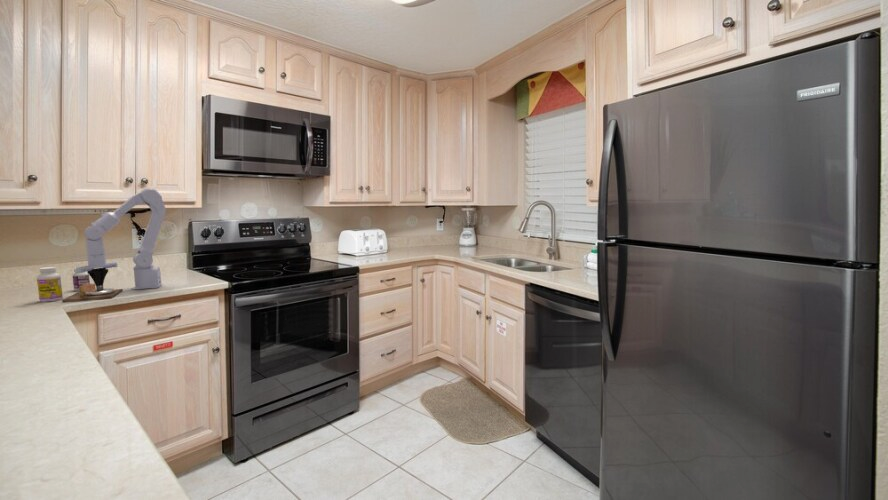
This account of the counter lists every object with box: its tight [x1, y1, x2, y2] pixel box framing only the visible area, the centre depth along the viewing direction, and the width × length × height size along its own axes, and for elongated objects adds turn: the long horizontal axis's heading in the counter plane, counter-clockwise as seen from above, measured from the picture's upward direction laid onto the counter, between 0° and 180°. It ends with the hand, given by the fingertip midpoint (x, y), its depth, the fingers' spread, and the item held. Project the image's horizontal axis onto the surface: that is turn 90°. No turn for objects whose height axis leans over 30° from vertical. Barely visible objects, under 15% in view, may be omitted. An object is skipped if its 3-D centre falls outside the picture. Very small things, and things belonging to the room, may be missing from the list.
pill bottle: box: [72, 267, 91, 292], centre depth 178 cm, size 5×5×10 cm
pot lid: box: [83, 283, 115, 296], centre depth 167 cm, size 12×9×3 cm
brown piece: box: [61, 286, 124, 303], centre depth 166 cm, size 15×15×6 cm
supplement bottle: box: [36, 266, 64, 303], centre depth 159 cm, size 7×7×13 cm
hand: (99, 286), depth 172 cm, fingers closed
